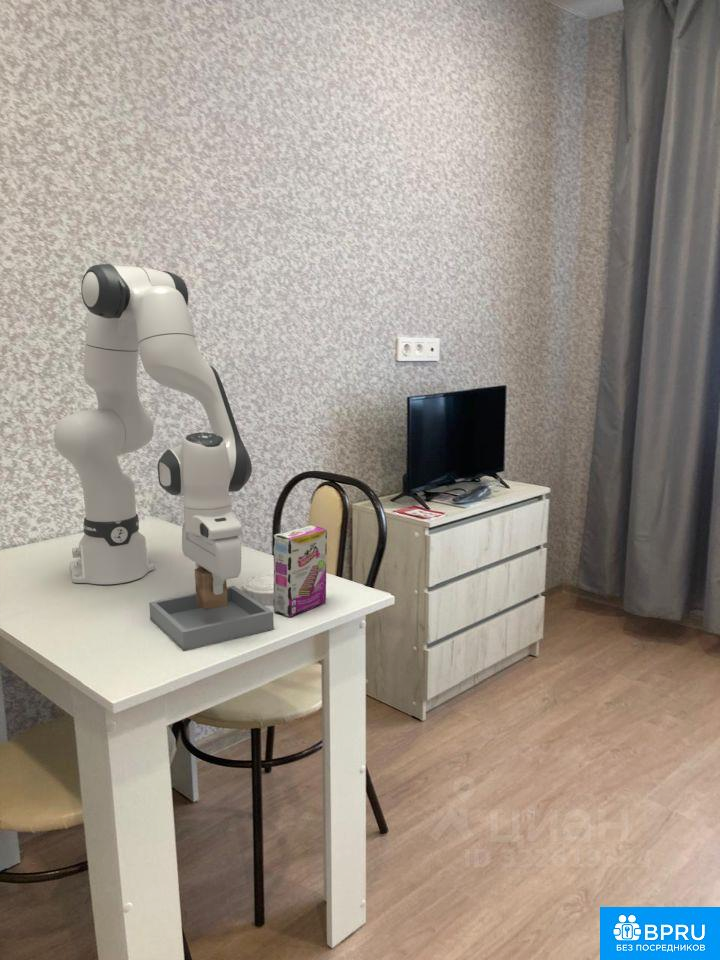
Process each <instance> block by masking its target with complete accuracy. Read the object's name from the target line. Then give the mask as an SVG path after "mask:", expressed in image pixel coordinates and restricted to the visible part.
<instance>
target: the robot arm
mask: <svg viewBox="0 0 720 960" xmlns="http://www.w3.org/2000/svg"><path fill="white" fill-rule="evenodd" d="M80 290H81V291H80V293H81V299H82V302H83V304H84V306H85V307H86V308H87V310H88V311H89V312H90V313H89V317H88V322H87V327H86V332H85V333H86V335H85V344H84V359H83V379H84V382H85V383H86V384H87V386H89V387H90V388H91V389H93V390H94V392H95V395H96V399H97V408H96V409H88V410H81V411H80V410H79V411H76V412H73V413H72V414H69V415H67V416H64V417H63V418H61V419H60V420H59V421H58V422H57V423H56V424H55V427H54V430H53V441H54V446H55V449H56V450H57V451H58V453H59V454H60V455H61V456H62V457H63V458H64V459H66V460H68V462H70V464H71V465H72V466H73V467H74V469H75V470H76V472H77V475H78V477H79V479H80V483H81V487H82V492H83V493H82V494H83V500H84V501H83V502H84V511H85V516H84V518H83V524H82V525H83V526H82V527H83V536H82V538H81V539H80V541H79V542H78V547H73V548H72V549H71V551H72V558H73V560H71V561H70V565H69V566H70V567H69V568H70V574H71V582H72V583H75V584H76V583H77V584H91V585H92V584H93V585H117V584H124V583H129V582H133V581H136V580H138V579H141V578H143V577H145V576H146V575H147V574H148V573H149V572H151V571H154V570H155V563H152V562H150V561H149V556H148V548H147V540H146V537H145V535H143V534H142V533H140V531H139V529H140V526H139V525H140V519H139V515H138V514H137V507H136V505H137V504H136V488H135V486H136V485H135V483H134V481H133V479H132V478H131V477H129V476H128V475H127V474H125V473H123V471H122V469H121V466H120V463H119V459H118V456H120V455H126V454H130V453H134V452H136V451H137V450H140V449H141V448H143V447H145V446H146V445H148V444H149V443H150V442H151V441H152V439H153V437H154V429H155V426H154V423H153V419H152V418H151V416H150V415H149V413H148V412H147V411H146V410H145V409H144V408H143V406H142V403H141V400H140V397H139V391H138V385H137V384H138V363H139V361H138V360H139V355H140V360H141V362H142V367H143V369H144V371H145V372H146V373H147V374H148V376H149V377H150V378H151V379H152V380H153V381H155V382H156V383H157V384H160V386H161V385H162V386H163V387H165V388H168V389H172V390H175V391H178V392H180V393H183V394H185V395H188V396H190V397H193V398H194V399H195V400H197V401H198V402H199V403H200V404H201V405H202V407H203V409H204V410H205V413H206V416H207V420H208V422H209V425H210V427H211V431H212V433H211V432H203V431H201V432H193V433H191V434H187V435H186V436H184V438H183V440H182V443H181V444H179V445H178V446H175V447H172V448H170V449H167V450H165V452H163V453H162V455H161V456H160V458H159V460H158V462H157V474H158V475H157V476H158V481H159V482H158V483H159V486H160V487H161V488H162V489H163V490H164V491H166V493H168V494H169V495H172V496H177V497H178V496H179V497H183V496H184V497H183V498H184V500H183V520H184V521H183V524H182V528H181V548H182V550H181V551H182V553H183V555H184V557H186V558H187V559H189V560H191V561H192V562H194V563H195V569H197V568H202V567H203V568H205V569H206V570H208V571H209V572H211V573H212V577H213V578H214V579H213V584H211V591H212V593H214V594H215V595H218V594H222V593H223V584H224V581H225V580H226V581H227V580H230V579H235V578H239V576H240V575H241V572H242V544H241V539H240V537H239V536H242V535H243V526H242V524H241V522H240V520H238V519H237V516H236V515H235V514H234V511H233V510H232V501H231V497H230V493H233V492H234V493H235V492H239V491H240V490H241V489H242V488H244V486H246V484H247V483H248V481H249V480H250V479H251V476H252V473H253V472H252V470H253V464H252V460H251V458H250V455H249V453H248V450H247V448H246V446H245V444H244V443H243V441H242V438H241V435H240V432H239V429H238V426H237V423H236V420H235V417H234V415H233V412H232V408H231V405H230V402H229V400H228V396H227V393H226V389H225V388H224V385H223V382H222V380H221V378H220V375H219V374H218V372H217V370H216V368H215V367H213V365H212V366H211V365H210V364H209V363H207V361H206V360H205V358H204V357H203V356H202V354H201V352H200V350H199V347H198V345H197V340H196V334H195V329H194V326H193V322H192V318H191V314H190V312H189V311H190V310H189V309H188V306H189V305H188V304H189V291H188V287H187V285H186V282H185V280H184V279H183V278H182V277H181V276H180V275H177V274H175V273H173V272H170V271H168V270H167V271H166V270H158V269H154V268H150V267H145V266H139V265H136V266H134V265H133V266H132V265H131V266H130V265H112V264H110V263H101V264H95V265H94V264H93V265H92V266H90V267H88V269H87V270H86V272H85V273H84V274H83V277H82V280H81V288H80Z"/></svg>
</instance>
